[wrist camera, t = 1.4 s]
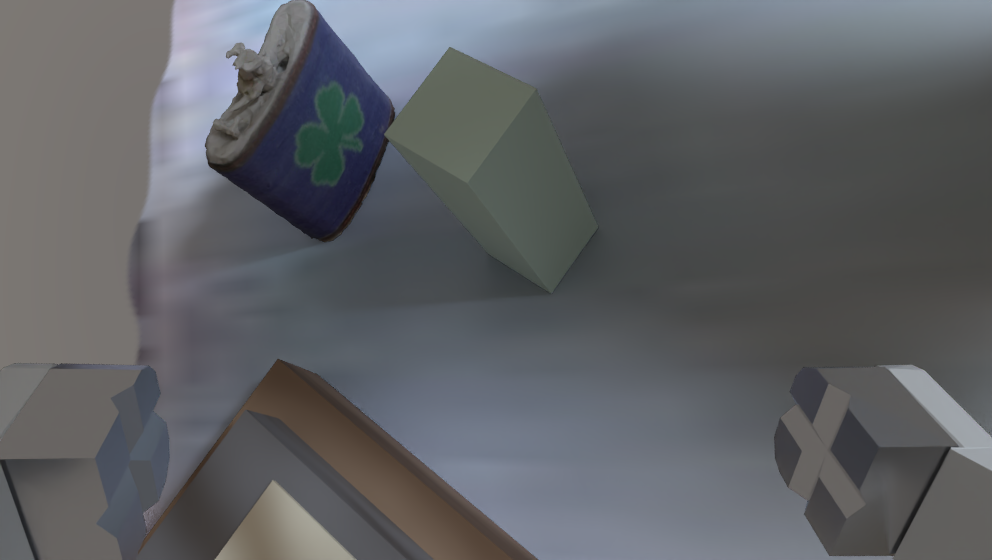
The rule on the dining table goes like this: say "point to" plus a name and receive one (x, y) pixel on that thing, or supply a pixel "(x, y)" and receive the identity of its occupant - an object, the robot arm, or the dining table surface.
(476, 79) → the sage column
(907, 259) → the dining table surface
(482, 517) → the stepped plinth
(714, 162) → the dining table surface
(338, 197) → the flask
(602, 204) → the dining table surface
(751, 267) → the dining table surface
